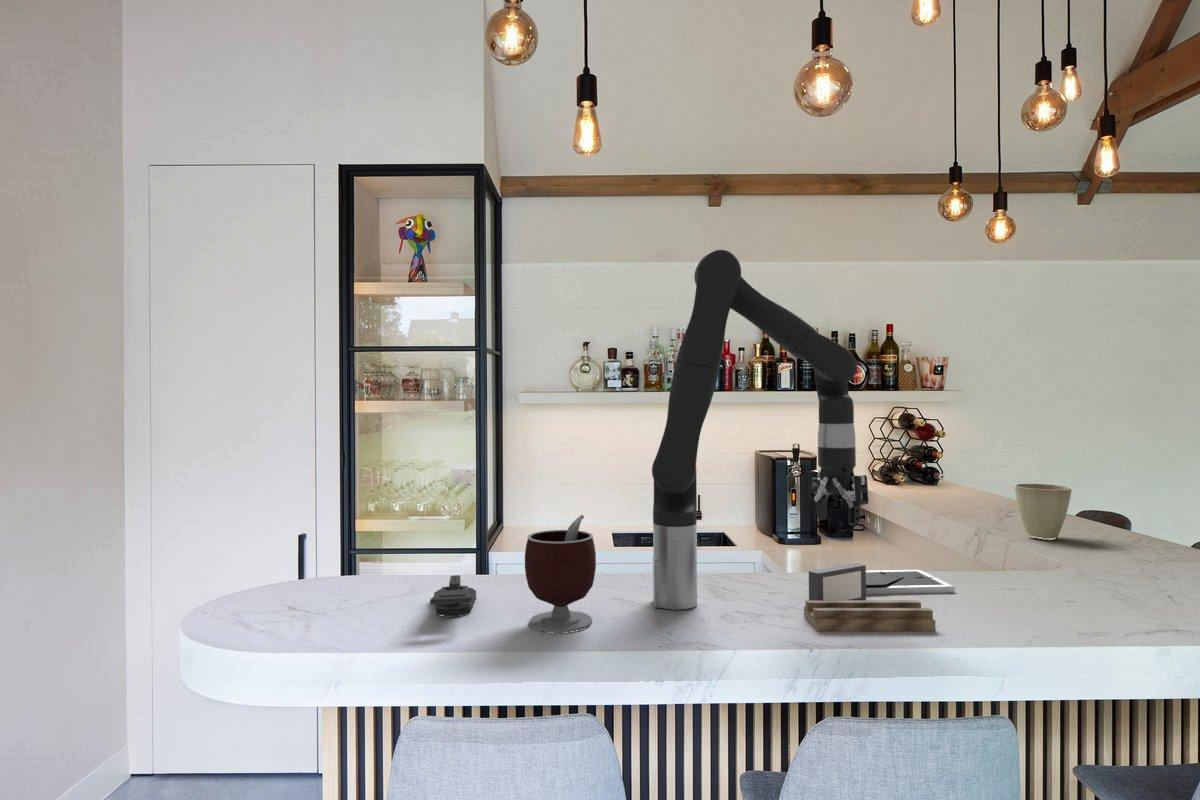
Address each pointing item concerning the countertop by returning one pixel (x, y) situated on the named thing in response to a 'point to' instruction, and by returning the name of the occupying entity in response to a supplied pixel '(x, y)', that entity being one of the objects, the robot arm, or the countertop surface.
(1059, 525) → the plant pot
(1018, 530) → the countertop surface
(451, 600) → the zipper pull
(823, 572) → the grey photo frame
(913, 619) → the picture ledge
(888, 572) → the picture frame
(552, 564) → the mate gourd
